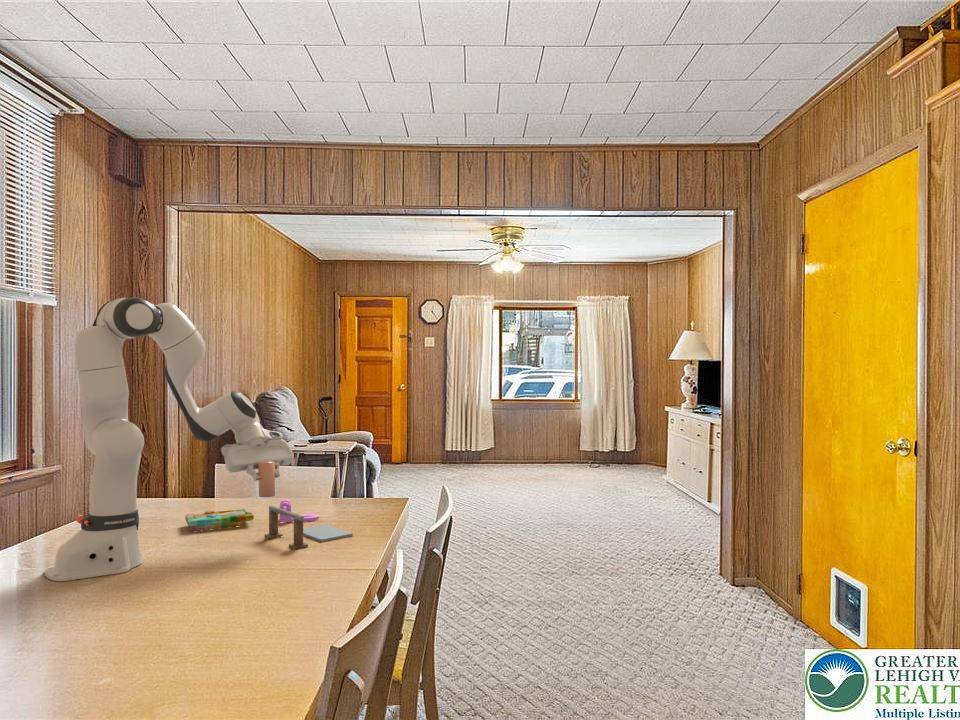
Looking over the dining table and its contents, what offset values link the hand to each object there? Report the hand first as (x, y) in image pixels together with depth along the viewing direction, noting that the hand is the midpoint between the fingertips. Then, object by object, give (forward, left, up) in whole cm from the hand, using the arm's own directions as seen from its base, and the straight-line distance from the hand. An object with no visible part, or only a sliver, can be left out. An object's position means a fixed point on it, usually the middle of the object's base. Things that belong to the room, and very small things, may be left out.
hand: (267, 477), depth 201 cm
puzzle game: (-1, +34, -21) cm, 40 cm away
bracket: (+23, +24, -20) cm, 39 cm away
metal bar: (+6, +1, -12) cm, 13 cm away
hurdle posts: (+6, +1, -20) cm, 21 cm away
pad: (+19, +1, -20) cm, 28 cm away
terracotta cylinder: (0, +1, -5) cm, 5 cm away
